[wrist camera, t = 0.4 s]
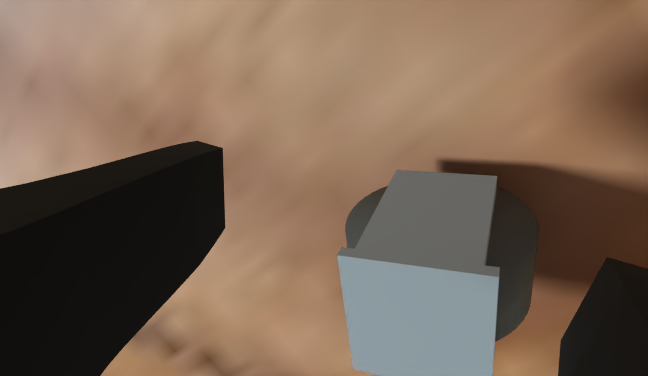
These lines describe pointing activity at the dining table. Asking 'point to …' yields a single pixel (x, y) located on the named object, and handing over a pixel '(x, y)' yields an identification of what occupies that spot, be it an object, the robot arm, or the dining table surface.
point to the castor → (435, 274)
